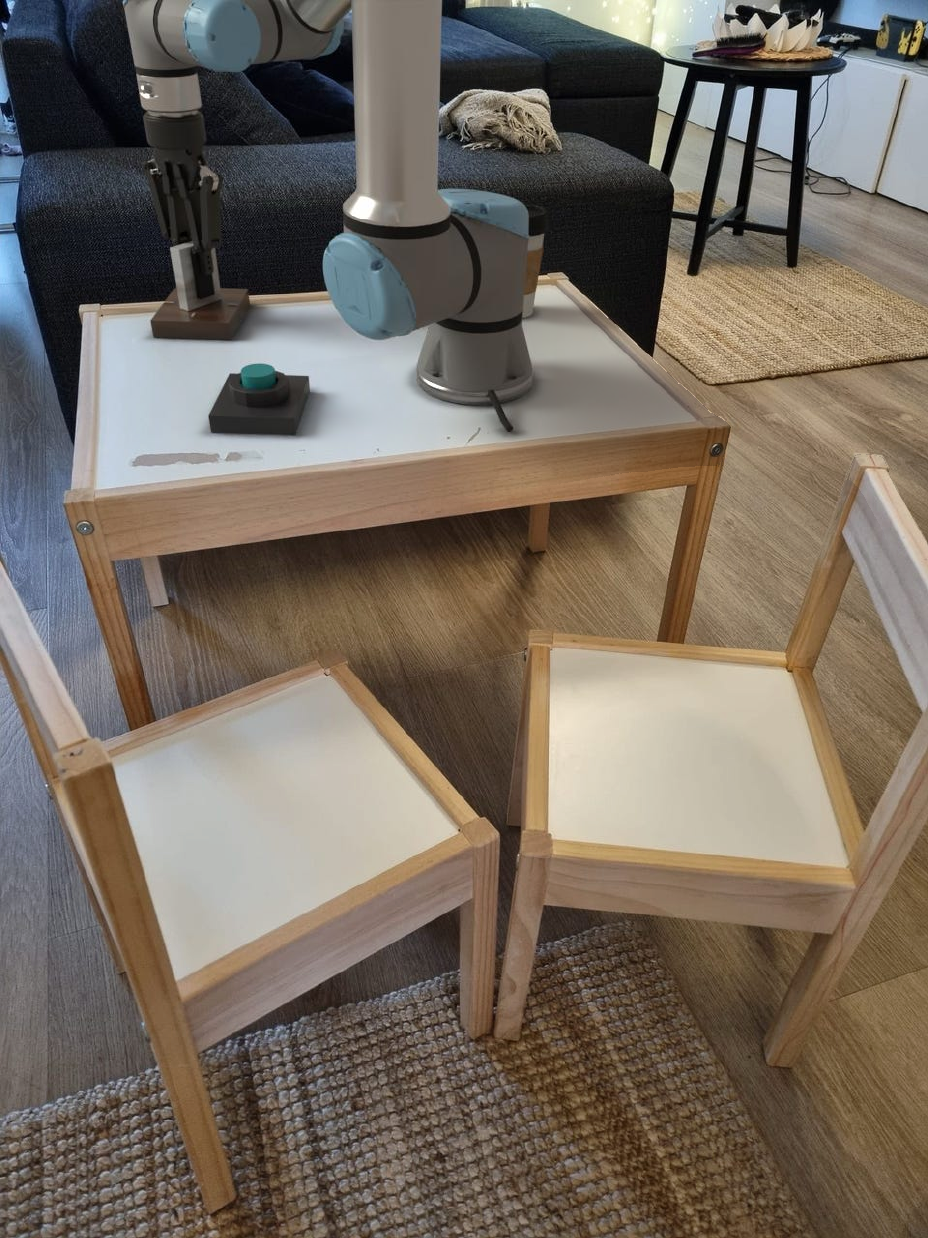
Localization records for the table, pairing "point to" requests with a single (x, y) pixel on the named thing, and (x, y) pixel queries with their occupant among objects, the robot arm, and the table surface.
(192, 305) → the grey flat upright block
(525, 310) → the coffee cup
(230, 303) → the panel
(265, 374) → the button
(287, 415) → the button block
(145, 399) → the table surface
